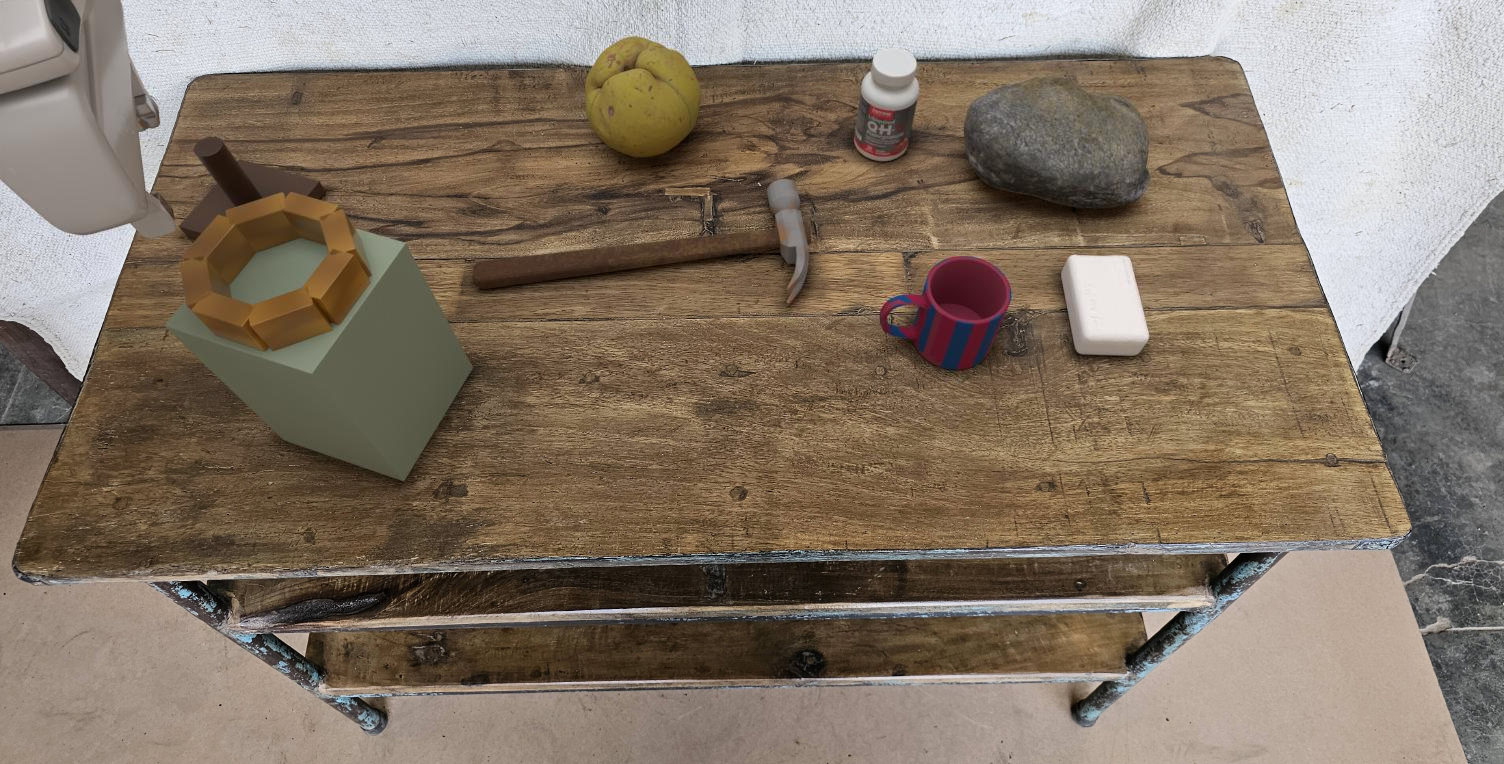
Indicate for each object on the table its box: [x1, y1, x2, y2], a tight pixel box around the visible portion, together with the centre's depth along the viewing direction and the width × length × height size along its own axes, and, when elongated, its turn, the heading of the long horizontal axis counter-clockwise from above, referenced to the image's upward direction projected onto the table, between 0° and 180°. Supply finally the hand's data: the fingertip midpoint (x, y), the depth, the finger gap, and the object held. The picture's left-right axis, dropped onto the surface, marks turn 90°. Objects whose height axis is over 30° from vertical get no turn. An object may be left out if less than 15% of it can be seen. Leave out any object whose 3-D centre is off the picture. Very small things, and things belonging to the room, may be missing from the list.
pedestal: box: [164, 227, 474, 482], centre depth 62 cm, size 11×11×16 cm
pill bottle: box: [853, 47, 920, 162], centre depth 80 cm, size 5×5×10 cm
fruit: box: [584, 36, 703, 158], centre depth 80 cm, size 11×12×10 cm
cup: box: [879, 255, 1012, 371], centre depth 70 cm, size 7×10×7 cm
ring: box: [178, 192, 372, 351], centre depth 54 cm, size 10×10×3 cm
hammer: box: [472, 178, 812, 308], centre depth 75 cm, size 12×3×30 cm
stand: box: [178, 136, 326, 240], centre depth 76 cm, size 9×9×8 cm
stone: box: [963, 75, 1151, 209], centre depth 78 cm, size 17×13×10 cm
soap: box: [1060, 254, 1150, 357], centre depth 72 cm, size 9×6×3 cm, turn 178°
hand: (154, 172), depth 51 cm, fingers open, 8 cm apart
